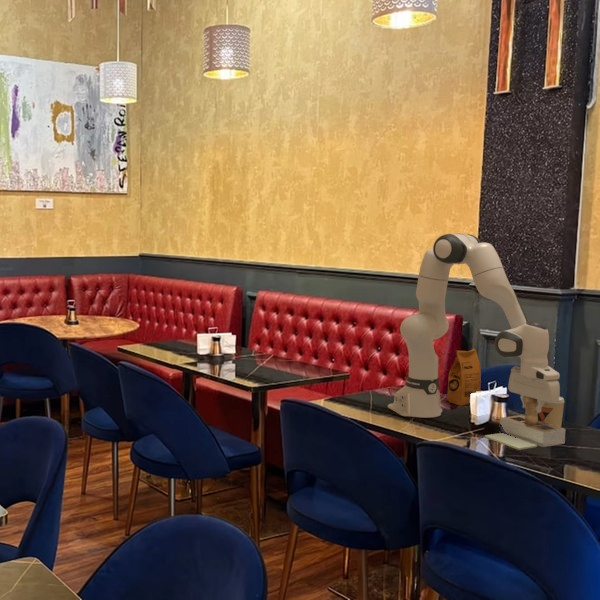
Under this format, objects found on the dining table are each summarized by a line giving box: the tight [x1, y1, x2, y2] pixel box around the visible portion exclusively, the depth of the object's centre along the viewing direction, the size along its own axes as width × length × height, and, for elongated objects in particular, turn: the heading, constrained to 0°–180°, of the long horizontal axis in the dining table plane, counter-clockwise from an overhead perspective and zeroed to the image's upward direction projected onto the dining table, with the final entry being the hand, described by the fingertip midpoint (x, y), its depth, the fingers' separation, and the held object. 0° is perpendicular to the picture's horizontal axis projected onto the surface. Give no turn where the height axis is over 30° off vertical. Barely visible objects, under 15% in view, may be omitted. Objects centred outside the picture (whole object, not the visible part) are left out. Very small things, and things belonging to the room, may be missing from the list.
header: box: [499, 414, 566, 448], centre depth 245 cm, size 20×10×5 cm, turn 27°
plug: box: [524, 397, 538, 426], centre depth 245 cm, size 4×4×12 cm
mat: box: [484, 432, 538, 451], centre depth 240 cm, size 16×8×1 cm, turn 27°
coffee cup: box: [538, 396, 565, 428], centre depth 254 cm, size 9×9×12 cm
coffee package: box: [446, 348, 482, 407], centre depth 295 cm, size 10×12×22 cm
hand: (531, 410), depth 245 cm, fingers closed on plug, 4 cm apart
